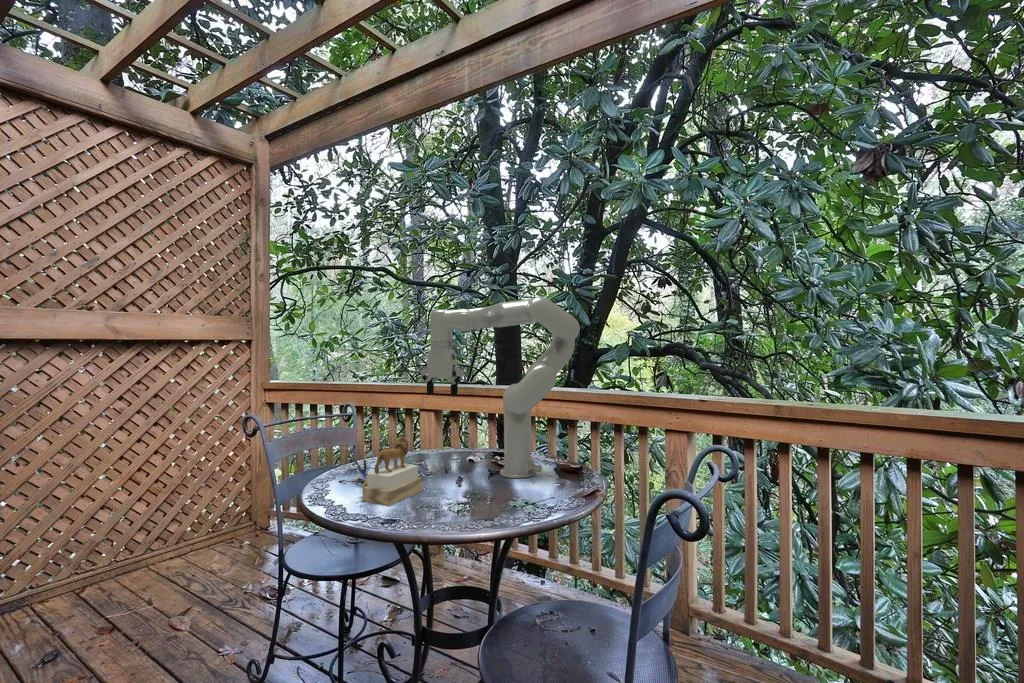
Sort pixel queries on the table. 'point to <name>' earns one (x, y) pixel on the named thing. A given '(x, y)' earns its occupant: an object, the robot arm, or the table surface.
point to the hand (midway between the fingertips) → (442, 395)
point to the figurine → (363, 471)
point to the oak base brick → (392, 493)
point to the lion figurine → (393, 454)
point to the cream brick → (392, 477)
